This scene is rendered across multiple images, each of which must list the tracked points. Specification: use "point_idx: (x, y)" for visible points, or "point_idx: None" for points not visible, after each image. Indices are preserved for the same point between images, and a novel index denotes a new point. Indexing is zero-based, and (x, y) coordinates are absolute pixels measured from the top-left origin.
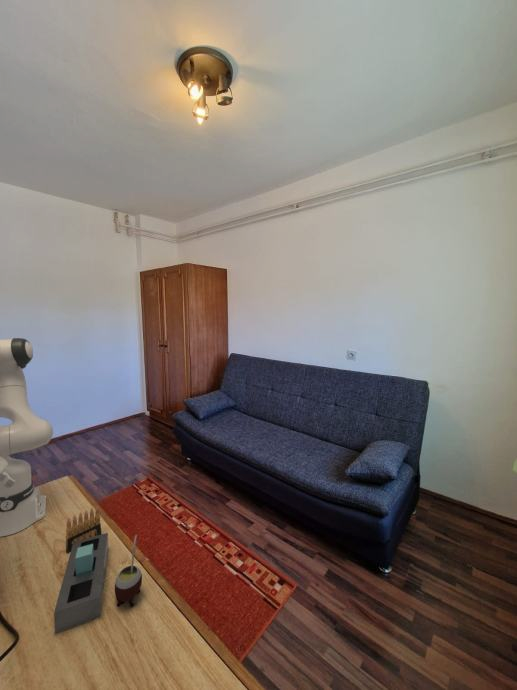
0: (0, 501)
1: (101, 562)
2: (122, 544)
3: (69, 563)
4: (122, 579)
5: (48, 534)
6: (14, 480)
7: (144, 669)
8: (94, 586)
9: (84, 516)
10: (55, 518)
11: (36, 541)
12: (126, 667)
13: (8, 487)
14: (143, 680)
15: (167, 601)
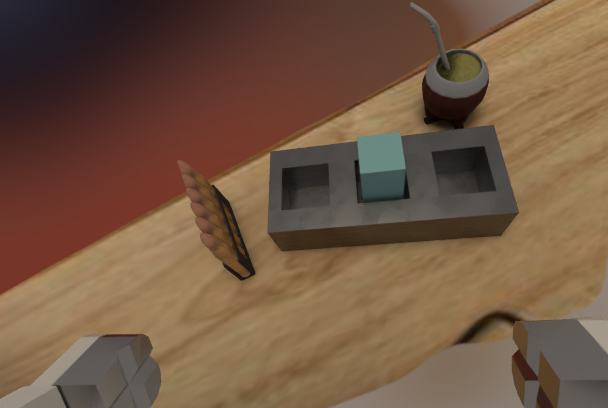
0: (529, 321)
1: None
2: (282, 149)
3: (355, 220)
4: (471, 76)
5: None
6: (76, 342)
7: (602, 69)
8: (457, 142)
9: (198, 201)
10: None
11: None
12: (595, 95)
13: (150, 389)
14: None
15: (472, 50)
